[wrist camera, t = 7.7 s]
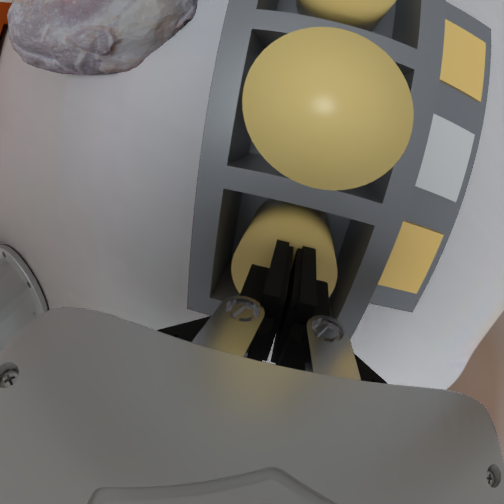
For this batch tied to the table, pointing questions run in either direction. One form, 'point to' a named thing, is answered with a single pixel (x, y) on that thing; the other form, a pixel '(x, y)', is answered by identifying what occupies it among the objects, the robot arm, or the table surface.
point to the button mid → (327, 108)
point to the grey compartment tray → (284, 189)
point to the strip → (441, 162)
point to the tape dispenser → (4, 14)
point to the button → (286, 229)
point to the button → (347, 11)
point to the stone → (93, 32)
